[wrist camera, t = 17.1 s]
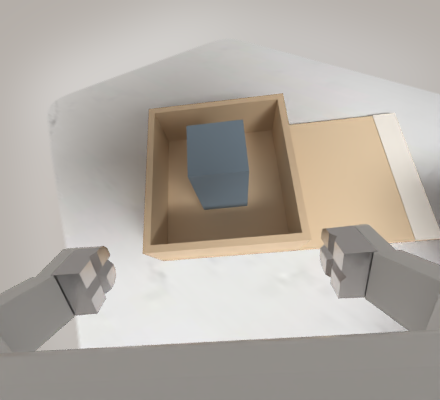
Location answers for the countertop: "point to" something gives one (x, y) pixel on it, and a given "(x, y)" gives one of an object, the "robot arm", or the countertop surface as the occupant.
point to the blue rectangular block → (218, 164)
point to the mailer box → (282, 182)
